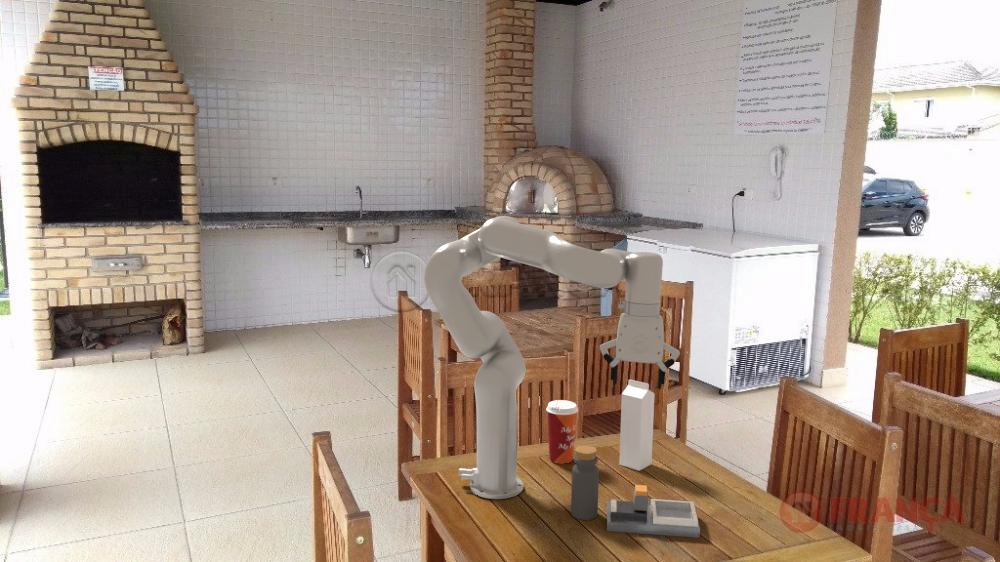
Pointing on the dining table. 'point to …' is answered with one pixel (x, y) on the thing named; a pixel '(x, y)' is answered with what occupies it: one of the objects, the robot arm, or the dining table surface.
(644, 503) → the toggle
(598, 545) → the dining table surface
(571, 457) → the coffee cup
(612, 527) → the panel
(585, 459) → the bottle
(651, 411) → the milk
